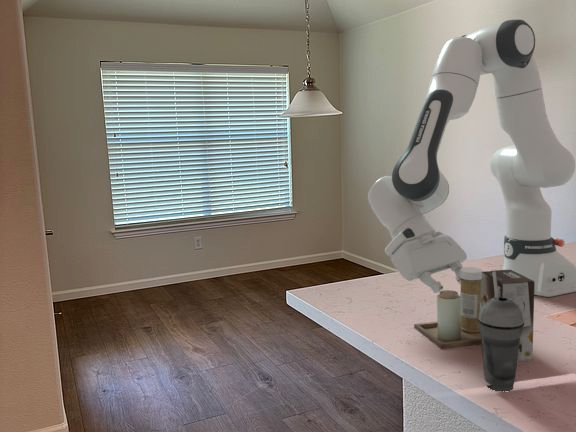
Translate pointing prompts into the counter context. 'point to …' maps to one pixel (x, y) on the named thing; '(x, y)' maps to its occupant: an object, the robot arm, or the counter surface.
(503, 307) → the beverage cup
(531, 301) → the coffee box
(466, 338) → the tray
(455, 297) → the jar
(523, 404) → the counter surface
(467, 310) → the sprinkles bottle
